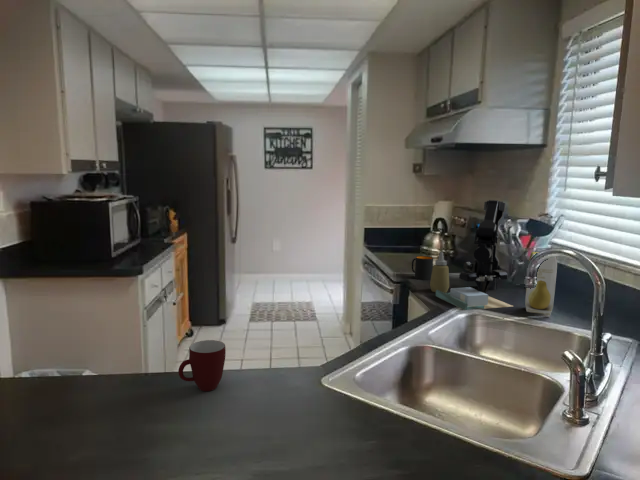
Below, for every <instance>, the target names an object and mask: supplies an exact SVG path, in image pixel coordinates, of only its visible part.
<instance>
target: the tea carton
mask: <svg viewBox="0 0 640 480" xmlns="http://www.w3.org/2000/svg"><path fill="white" fill-rule="evenodd" d="M449 293H450V296H453V297H455V298H457V299H459V300H461V301H464V302H466V303H467V306H478V305H488V296H489V294H487V293H486V294H485V293H483V292H480V291H479V290H478V289H475V288H473V287H470V286H468V287H467V286H466V287H451V288H450V292H449Z"/></svg>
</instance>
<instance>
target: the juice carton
mask: <svg viewBox="0 0 640 480" xmlns="http://www.w3.org/2000/svg"><path fill="white" fill-rule="evenodd" d="M536 253H539V252H537V251H531V253H530V255H529V259H528V262H529V261H530V259H531V258H532V257H533V256H534V255H535V254H536ZM557 270H558V257H557V256H556V257H554V258H550V259H548V260H546V261H544V262H543V263H542V264H541V265H540V267H539V269H538V272H537V285H536V287H535V288H531V289H530V288H526V287H525V297H524V304H525V310H526V312H527V313H531V314H532V313H534V316H537V317H545V318H550V317H551V314H552V311H553V309H554V302H555V301H554V300H555V292H556V284H557V283H556V281H557V274H558V273H557Z"/></svg>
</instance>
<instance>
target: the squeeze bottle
mask: <svg viewBox="0 0 640 480" xmlns="http://www.w3.org/2000/svg"><path fill="white" fill-rule="evenodd" d="M447 262H448V261H447V260H445V258H444V252H443V251H439V255H438V259H436V260H435V263H434V264H433V269H432V275H431V280H429V281H430V282H429V286H430V287H429V288H430V290H431V292H432V293H436V290H439V291H442V292H444V293H448V291H449V288H450V271H449V266H448V264H447Z"/></svg>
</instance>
